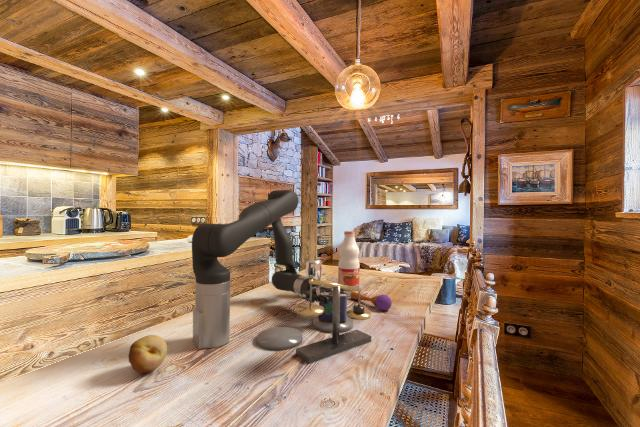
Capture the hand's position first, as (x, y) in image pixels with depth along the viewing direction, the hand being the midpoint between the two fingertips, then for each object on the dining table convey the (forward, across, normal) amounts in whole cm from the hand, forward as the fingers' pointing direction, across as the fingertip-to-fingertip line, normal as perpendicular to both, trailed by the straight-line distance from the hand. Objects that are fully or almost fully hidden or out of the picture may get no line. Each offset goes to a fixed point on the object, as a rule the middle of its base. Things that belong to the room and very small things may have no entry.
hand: (337, 299), depth 99 cm
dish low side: (-2, 0, +9) cm, 9 cm away
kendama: (-10, +26, +10) cm, 29 cm away
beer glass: (-32, +14, +9) cm, 36 cm away
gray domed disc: (-2, -20, +9) cm, 22 cm away
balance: (+11, -10, +9) cm, 17 cm away
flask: (-2, 0, +8) cm, 8 cm away
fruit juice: (-26, +29, +9) cm, 40 cm away
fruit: (-5, -53, +9) cm, 54 cm away
